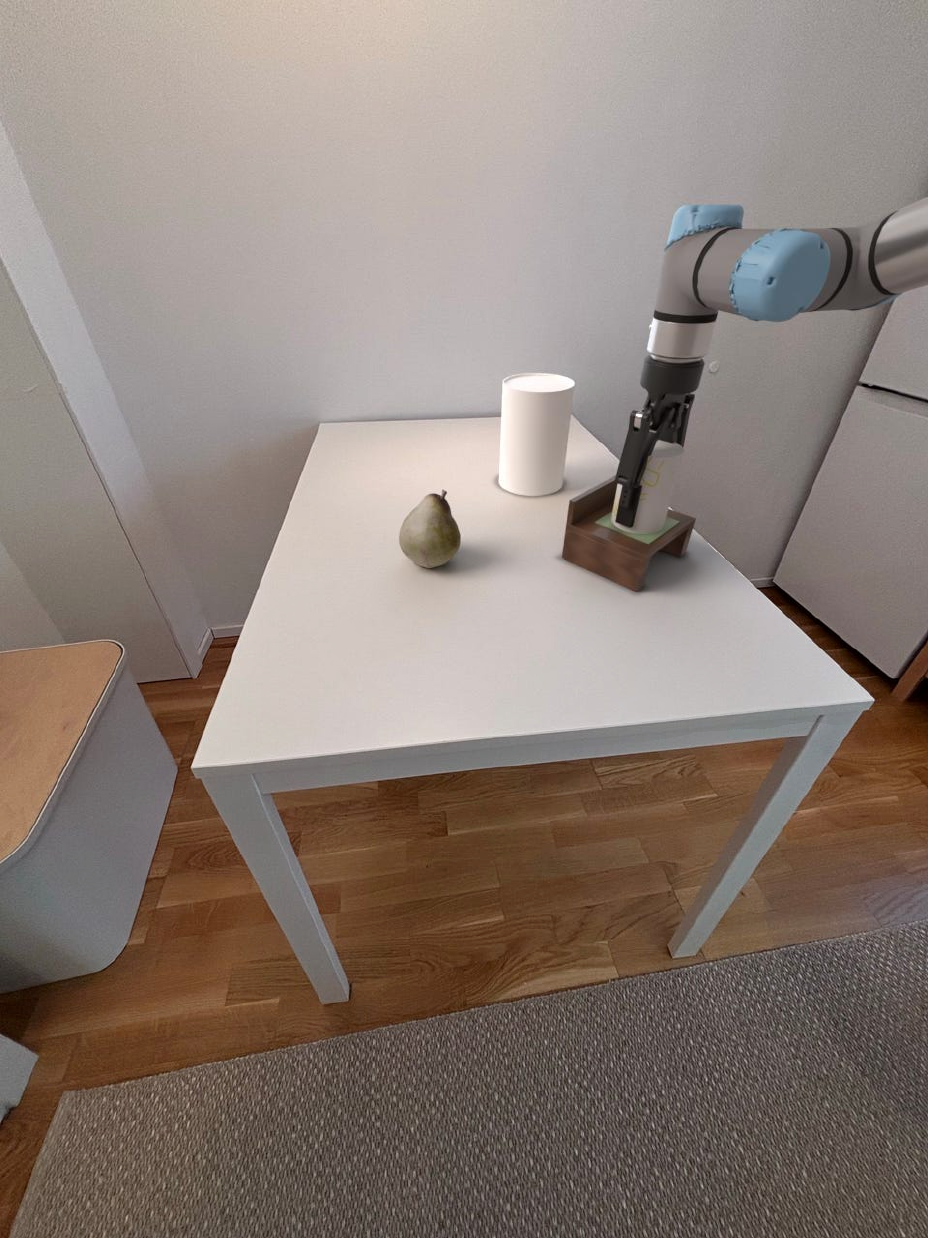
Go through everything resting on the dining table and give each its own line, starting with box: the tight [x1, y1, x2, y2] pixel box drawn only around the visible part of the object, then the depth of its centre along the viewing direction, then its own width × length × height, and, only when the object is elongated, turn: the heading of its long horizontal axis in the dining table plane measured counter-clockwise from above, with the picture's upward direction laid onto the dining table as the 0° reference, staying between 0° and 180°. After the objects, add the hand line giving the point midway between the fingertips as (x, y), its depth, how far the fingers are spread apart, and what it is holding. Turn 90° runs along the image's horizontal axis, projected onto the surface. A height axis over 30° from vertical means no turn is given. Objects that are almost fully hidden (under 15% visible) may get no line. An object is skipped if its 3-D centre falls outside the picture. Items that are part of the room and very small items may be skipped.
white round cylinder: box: [611, 440, 685, 534], centre depth 78 cm, size 8×8×12 cm
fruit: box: [398, 489, 462, 569], centre depth 82 cm, size 10×9×12 cm
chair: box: [561, 474, 697, 593], centre depth 84 cm, size 14×16×10 cm
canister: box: [498, 372, 576, 497], centre depth 104 cm, size 14×14×20 cm
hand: (639, 514), depth 81 cm, fingers closed on white round cylinder, 8 cm apart
